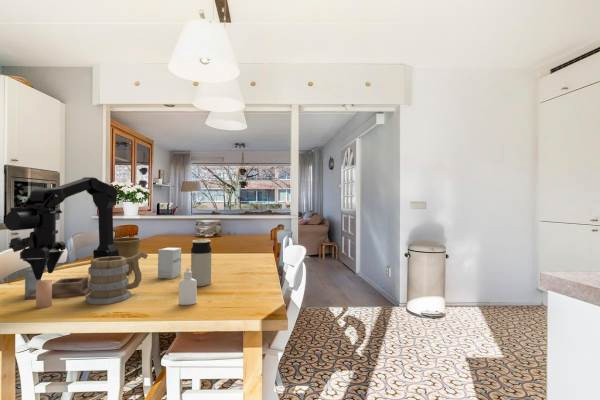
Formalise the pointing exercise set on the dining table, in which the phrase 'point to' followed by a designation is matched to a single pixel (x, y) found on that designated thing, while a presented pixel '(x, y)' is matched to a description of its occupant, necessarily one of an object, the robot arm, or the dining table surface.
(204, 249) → the travel mug
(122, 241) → the plant pot
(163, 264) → the supplement box
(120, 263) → the tankard
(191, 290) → the eye dropper bottle
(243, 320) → the dining table surface
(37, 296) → the peg
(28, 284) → the socket block
